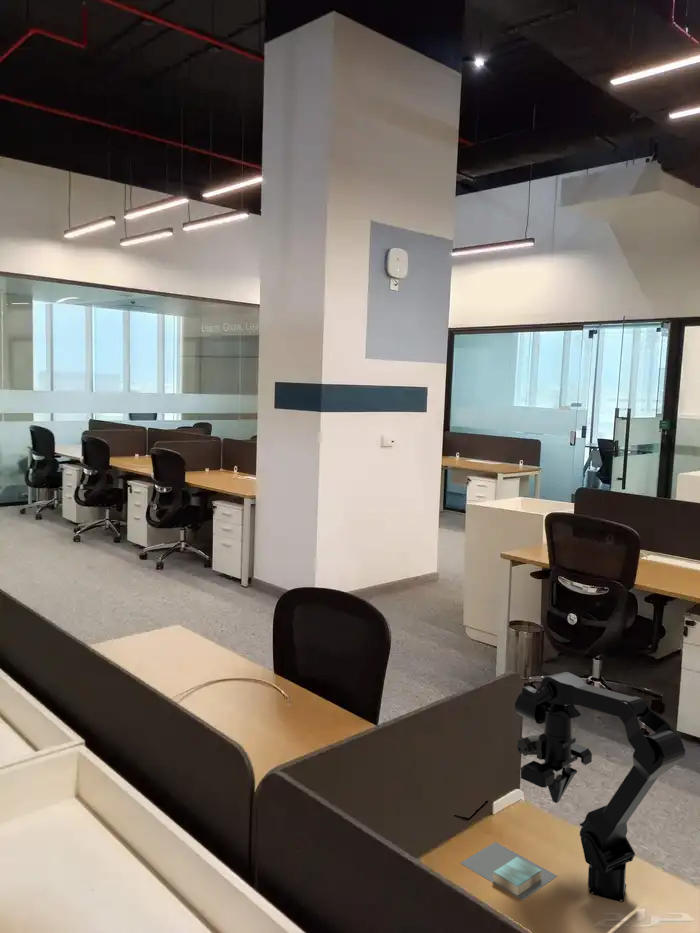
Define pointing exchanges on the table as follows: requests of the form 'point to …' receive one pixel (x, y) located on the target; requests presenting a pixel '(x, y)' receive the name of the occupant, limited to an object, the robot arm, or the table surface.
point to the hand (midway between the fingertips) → (555, 801)
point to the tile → (517, 875)
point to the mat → (496, 858)
